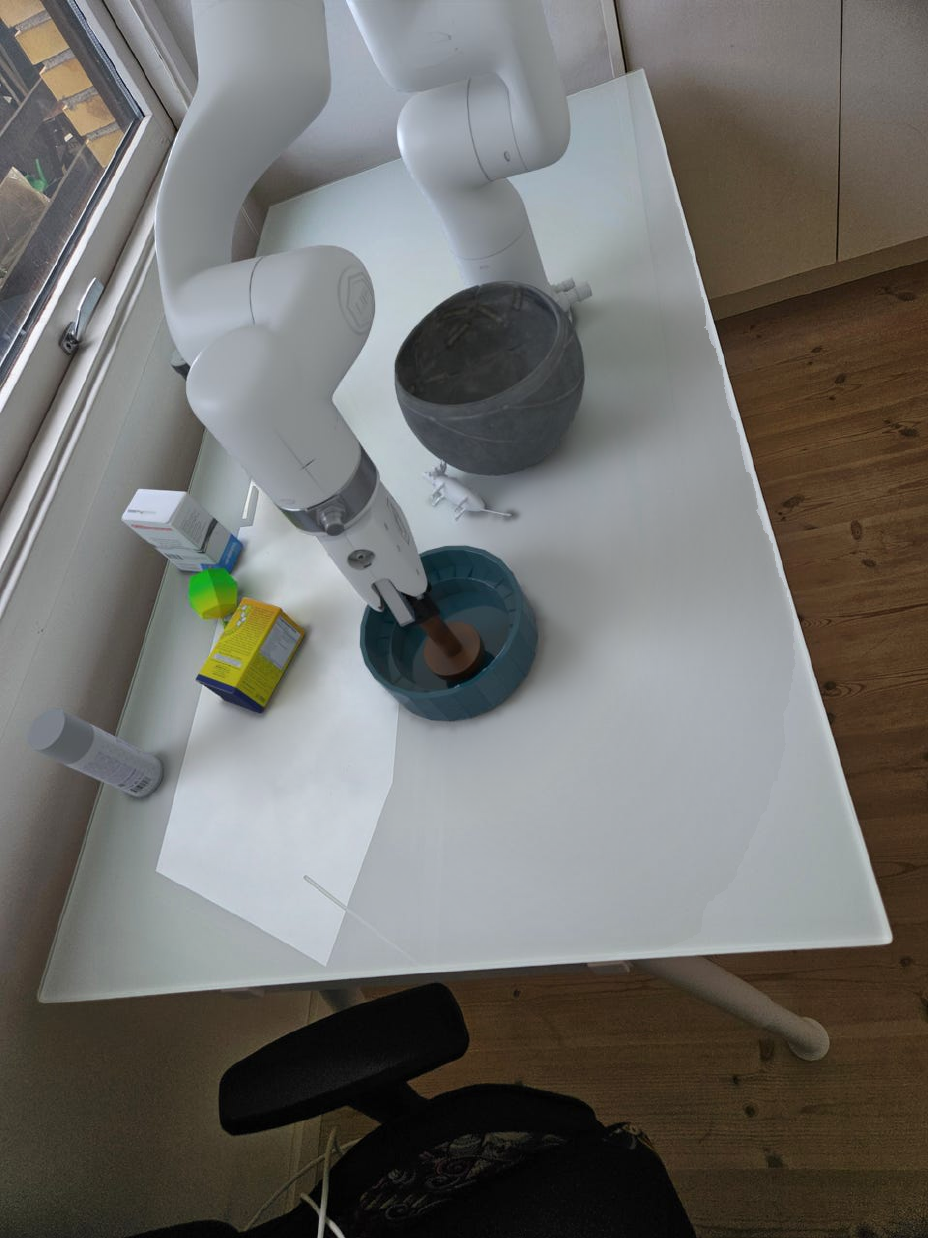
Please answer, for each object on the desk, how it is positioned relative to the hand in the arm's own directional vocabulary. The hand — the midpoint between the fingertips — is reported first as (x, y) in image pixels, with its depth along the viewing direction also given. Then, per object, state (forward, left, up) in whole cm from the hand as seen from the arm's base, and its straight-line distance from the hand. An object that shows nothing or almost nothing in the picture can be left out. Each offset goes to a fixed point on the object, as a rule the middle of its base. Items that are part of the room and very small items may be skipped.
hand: (420, 605), depth 74 cm
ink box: (+27, -32, -13) cm, 44 cm away
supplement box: (+26, -7, -10) cm, 29 cm away
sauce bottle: (+16, -43, -13) cm, 47 cm away
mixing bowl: (0, -3, -13) cm, 13 cm away
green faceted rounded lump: (+23, -21, -9) cm, 33 cm away
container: (+39, -5, -13) cm, 41 cm away
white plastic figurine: (-4, -18, -11) cm, 22 cm away
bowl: (-14, -26, -13) cm, 33 cm away
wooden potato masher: (0, 0, -10) cm, 10 cm away
